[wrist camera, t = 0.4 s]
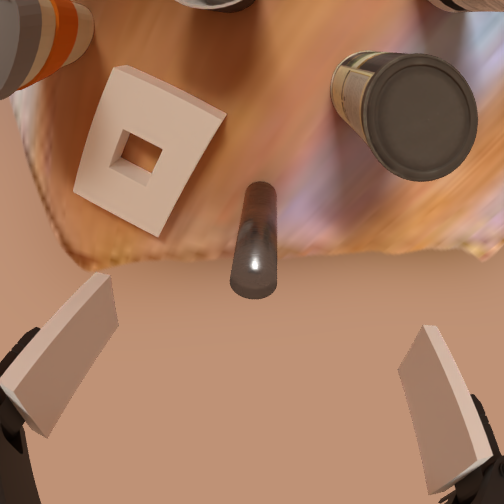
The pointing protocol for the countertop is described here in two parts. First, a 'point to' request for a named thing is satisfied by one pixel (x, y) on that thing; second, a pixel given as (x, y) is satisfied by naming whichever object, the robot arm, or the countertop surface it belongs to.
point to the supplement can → (469, 5)
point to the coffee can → (407, 111)
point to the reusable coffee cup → (40, 40)
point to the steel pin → (256, 244)
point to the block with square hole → (152, 130)
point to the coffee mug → (218, 4)
